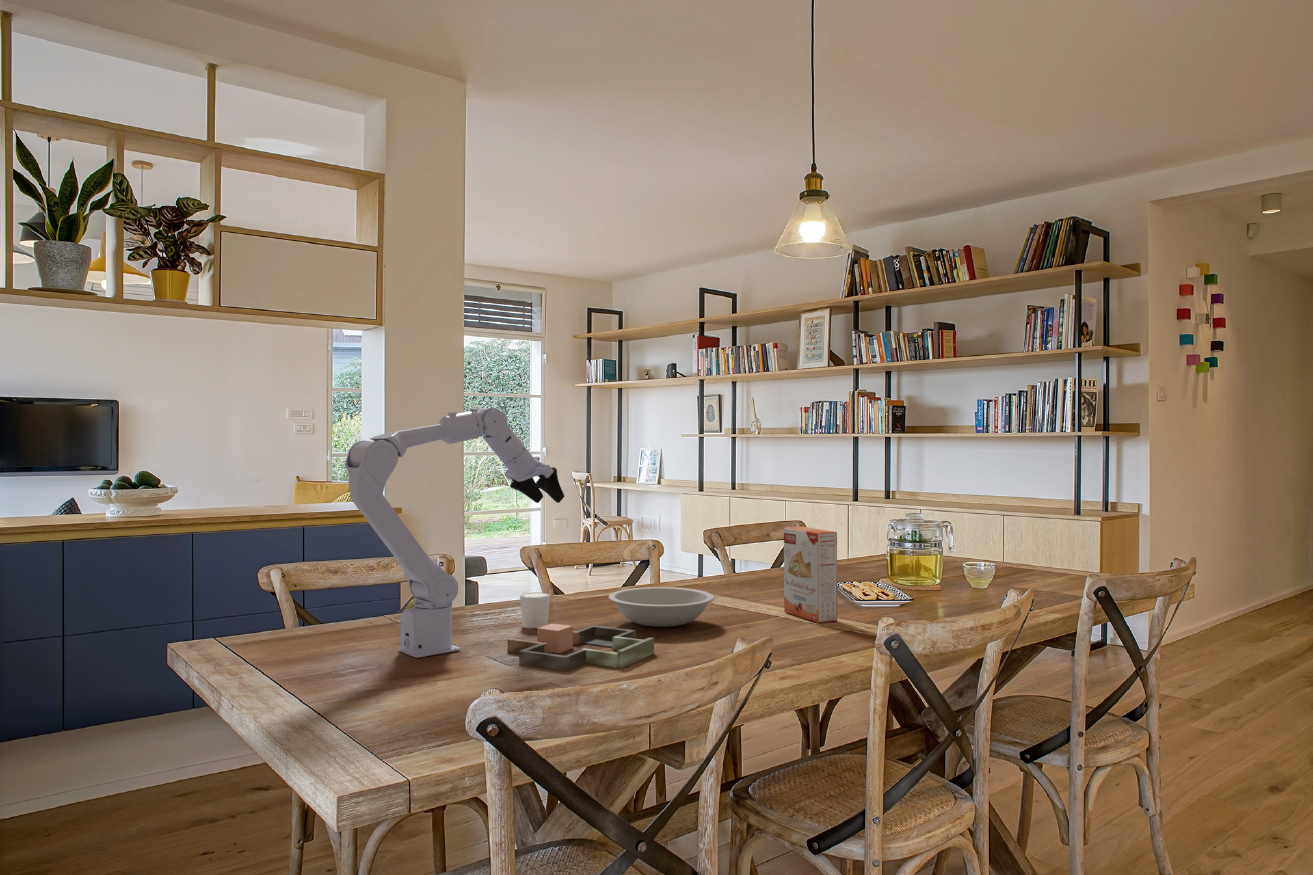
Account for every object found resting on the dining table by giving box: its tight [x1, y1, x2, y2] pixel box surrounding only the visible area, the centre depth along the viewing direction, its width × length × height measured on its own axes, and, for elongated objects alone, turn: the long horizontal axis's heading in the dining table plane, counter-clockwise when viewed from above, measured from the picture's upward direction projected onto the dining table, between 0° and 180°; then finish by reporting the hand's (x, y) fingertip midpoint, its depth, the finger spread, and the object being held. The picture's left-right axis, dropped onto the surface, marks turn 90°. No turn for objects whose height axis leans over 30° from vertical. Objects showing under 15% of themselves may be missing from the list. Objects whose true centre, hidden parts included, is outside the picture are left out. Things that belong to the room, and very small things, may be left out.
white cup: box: [519, 592, 551, 629], centre depth 189 cm, size 7×7×7 cm
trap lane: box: [506, 625, 655, 672], centre depth 165 cm, size 26×25×3 cm
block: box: [536, 623, 574, 654], centre depth 168 cm, size 5×5×4 cm
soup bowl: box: [608, 586, 716, 628], centre depth 191 cm, size 24×24×7 cm
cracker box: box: [783, 525, 838, 624], centre depth 200 cm, size 14×6×21 cm, turn 25°
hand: (550, 499), depth 184 cm, fingers open, 7 cm apart
